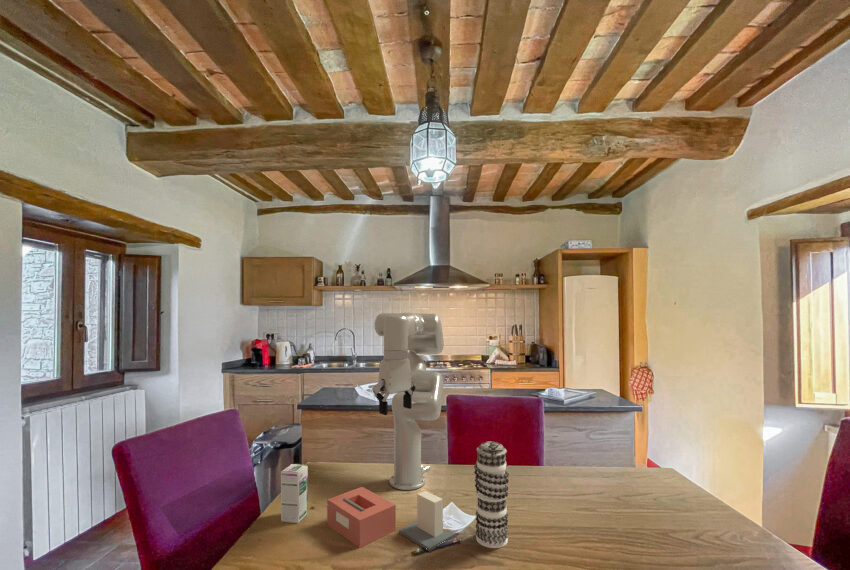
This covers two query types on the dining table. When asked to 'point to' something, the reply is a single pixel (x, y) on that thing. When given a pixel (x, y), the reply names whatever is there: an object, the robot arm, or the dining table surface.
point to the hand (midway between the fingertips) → (395, 410)
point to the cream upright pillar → (430, 513)
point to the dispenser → (361, 516)
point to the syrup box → (294, 493)
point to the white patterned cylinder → (491, 495)
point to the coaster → (425, 536)
